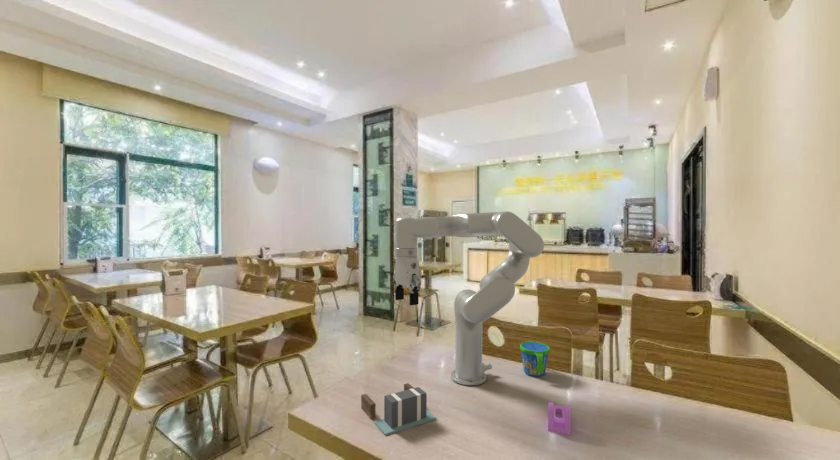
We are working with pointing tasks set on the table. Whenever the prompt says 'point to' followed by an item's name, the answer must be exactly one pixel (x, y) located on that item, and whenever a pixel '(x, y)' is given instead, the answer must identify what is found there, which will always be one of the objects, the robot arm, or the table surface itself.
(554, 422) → the bracket
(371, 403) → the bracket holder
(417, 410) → the banded grey block
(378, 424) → the rubber mat
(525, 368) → the snack cup
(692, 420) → the table surface
